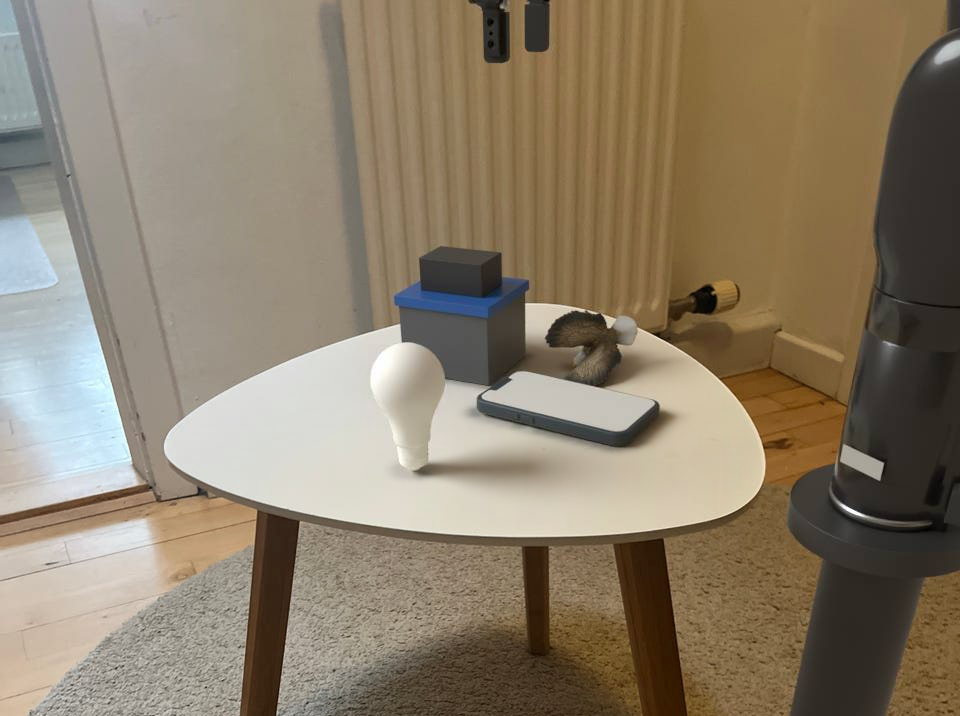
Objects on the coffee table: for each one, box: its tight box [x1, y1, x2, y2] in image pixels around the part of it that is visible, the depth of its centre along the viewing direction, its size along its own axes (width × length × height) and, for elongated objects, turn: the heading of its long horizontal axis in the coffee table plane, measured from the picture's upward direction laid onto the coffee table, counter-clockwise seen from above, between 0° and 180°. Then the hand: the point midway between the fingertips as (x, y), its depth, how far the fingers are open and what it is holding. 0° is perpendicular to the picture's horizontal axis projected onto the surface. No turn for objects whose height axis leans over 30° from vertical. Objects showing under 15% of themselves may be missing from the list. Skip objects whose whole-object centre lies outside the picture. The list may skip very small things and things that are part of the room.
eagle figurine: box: [544, 309, 639, 386], centre depth 100 cm, size 8×7×9 cm
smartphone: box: [476, 370, 661, 447], centre depth 93 cm, size 9×2×16 cm
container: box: [393, 276, 530, 387], centre depth 102 cm, size 11×10×8 cm
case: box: [418, 245, 503, 298], centre depth 99 cm, size 7×5×3 cm, turn 63°
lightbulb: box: [369, 342, 446, 472], centre depth 82 cm, size 6×6×11 cm
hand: (517, 56), depth 88 cm, fingers open, 8 cm apart
